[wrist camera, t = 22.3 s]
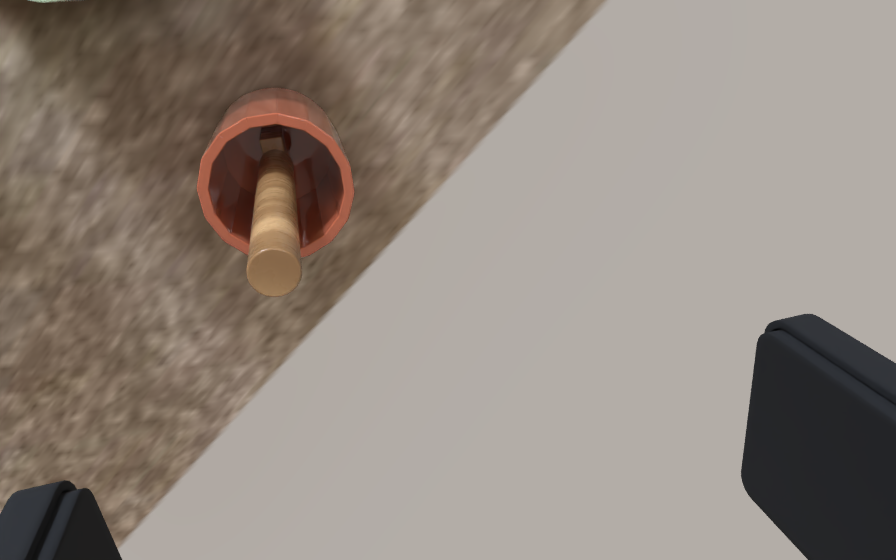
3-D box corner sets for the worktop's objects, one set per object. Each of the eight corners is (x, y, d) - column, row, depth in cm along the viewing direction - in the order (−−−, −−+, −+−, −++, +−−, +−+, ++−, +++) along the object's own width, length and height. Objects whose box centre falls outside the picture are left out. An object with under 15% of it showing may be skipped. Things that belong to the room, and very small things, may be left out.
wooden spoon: (254, 129, 37) (236, 236, 21) (286, 124, 37) (292, 227, 21) (266, 180, 38) (256, 318, 22) (297, 175, 38) (310, 307, 22)
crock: (327, 79, 37) (339, 103, 29) (347, 195, 40) (364, 246, 32) (201, 96, 36) (179, 126, 28) (231, 214, 39) (219, 272, 31)
